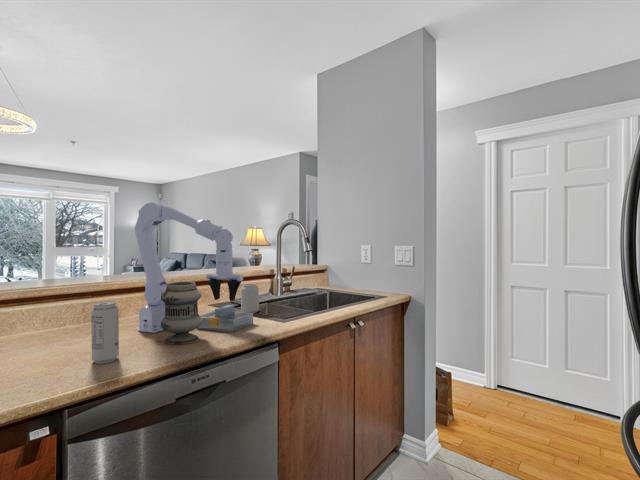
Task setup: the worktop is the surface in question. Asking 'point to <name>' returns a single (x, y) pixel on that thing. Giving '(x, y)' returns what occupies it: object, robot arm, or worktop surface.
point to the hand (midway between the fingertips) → (224, 300)
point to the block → (224, 311)
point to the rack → (226, 321)
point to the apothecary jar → (181, 312)
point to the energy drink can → (105, 332)
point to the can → (250, 298)
